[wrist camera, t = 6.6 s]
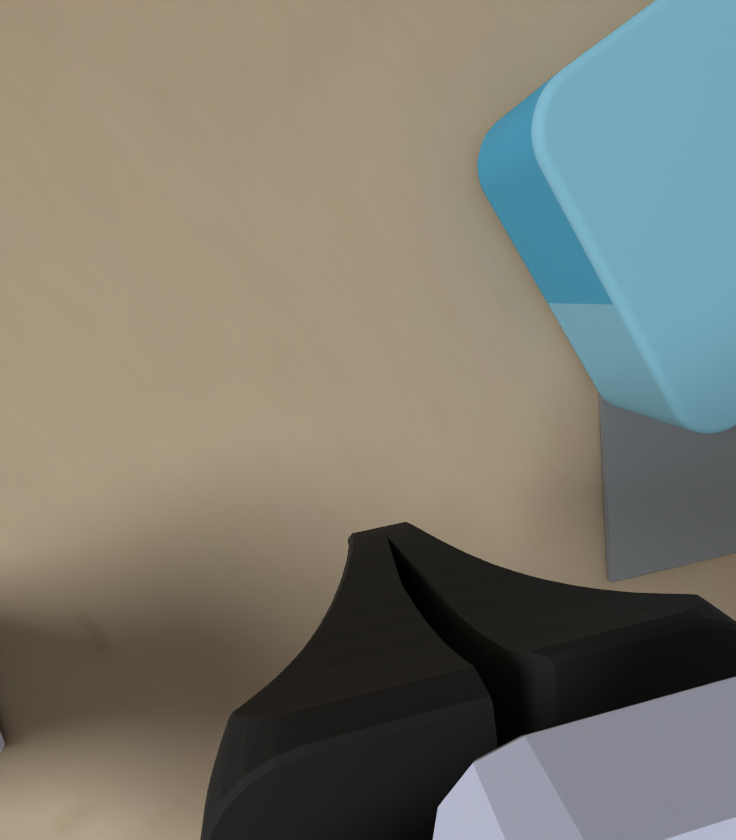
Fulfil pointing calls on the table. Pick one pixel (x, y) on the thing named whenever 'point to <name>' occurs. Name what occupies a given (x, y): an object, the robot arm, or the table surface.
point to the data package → (635, 209)
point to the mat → (664, 493)
